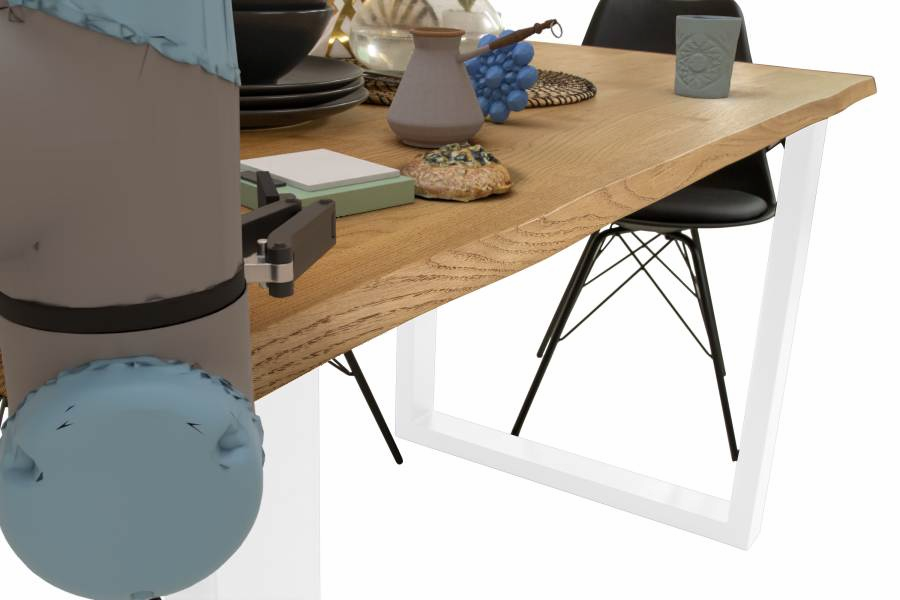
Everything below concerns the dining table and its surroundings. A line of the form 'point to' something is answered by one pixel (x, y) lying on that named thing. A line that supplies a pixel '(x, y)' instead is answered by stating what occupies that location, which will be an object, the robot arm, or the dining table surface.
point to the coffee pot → (443, 88)
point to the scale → (329, 181)
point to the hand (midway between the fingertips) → (149, 196)
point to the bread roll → (458, 173)
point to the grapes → (502, 77)
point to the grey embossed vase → (705, 55)
